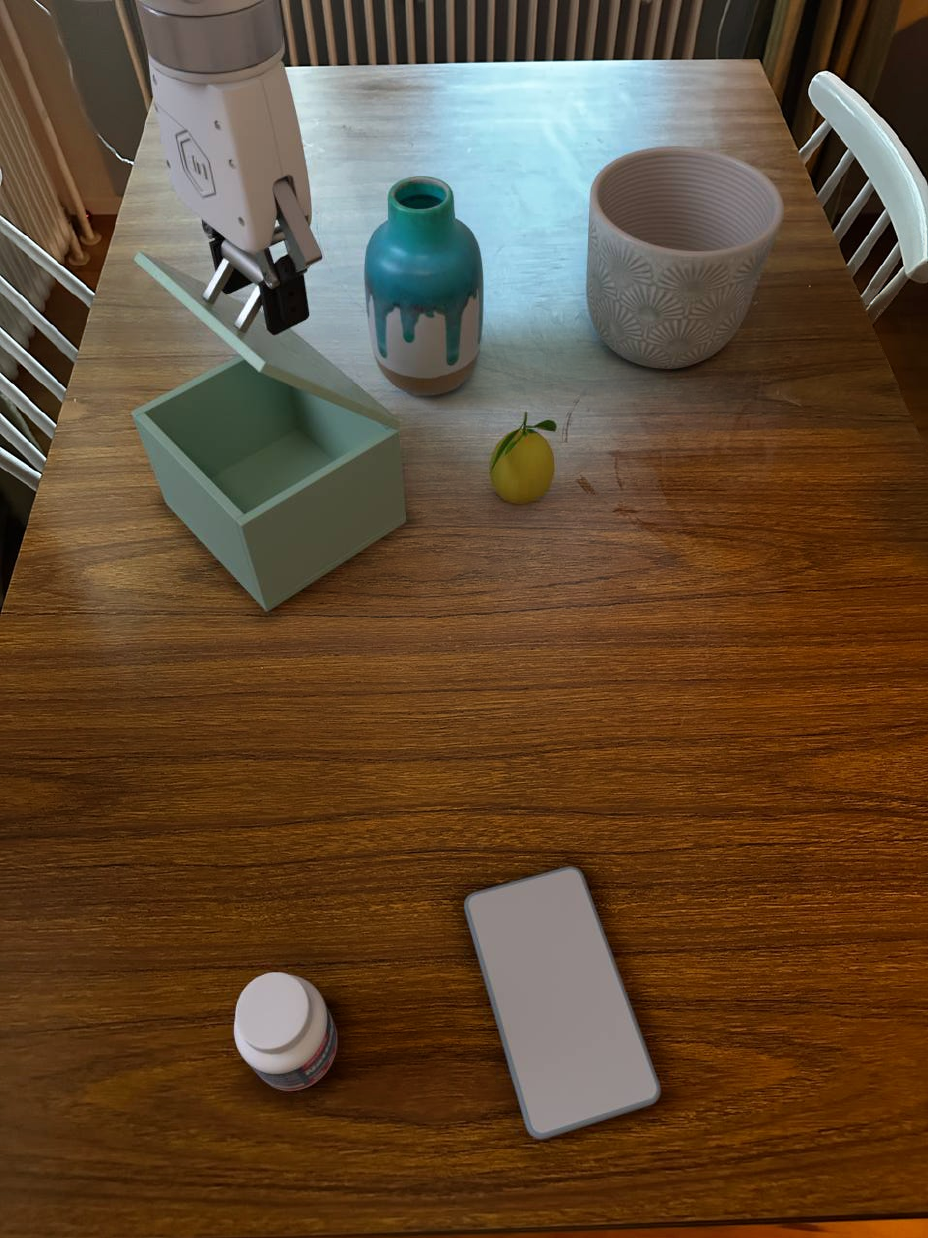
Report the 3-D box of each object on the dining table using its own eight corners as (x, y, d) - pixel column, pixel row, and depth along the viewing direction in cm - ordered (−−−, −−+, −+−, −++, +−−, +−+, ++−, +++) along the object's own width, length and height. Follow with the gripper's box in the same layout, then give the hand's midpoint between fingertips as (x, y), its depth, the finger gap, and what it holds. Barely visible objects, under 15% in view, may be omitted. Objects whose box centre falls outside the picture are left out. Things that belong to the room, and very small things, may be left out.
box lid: (259, 372, 60) (305, 295, 58) (133, 259, 67) (171, 187, 65) (396, 430, 73) (436, 368, 72) (279, 331, 80) (314, 272, 78)
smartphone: (579, 862, 64) (666, 1099, 56) (578, 867, 65) (663, 1102, 56) (460, 895, 63) (530, 1143, 54) (460, 900, 64) (529, 1145, 55)
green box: (266, 612, 77) (241, 525, 68) (165, 503, 84) (130, 411, 75) (406, 521, 82) (399, 430, 74) (301, 425, 89) (283, 331, 80)
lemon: (487, 529, 82) (490, 445, 74) (476, 479, 85) (477, 394, 77) (563, 519, 83) (574, 435, 74) (549, 470, 86) (558, 385, 78)
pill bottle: (325, 1100, 57) (305, 1073, 49) (241, 1083, 57) (209, 1054, 50) (347, 1007, 60) (331, 969, 52) (267, 992, 60) (240, 953, 53)
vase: (382, 421, 89) (365, 238, 74) (365, 348, 95) (346, 164, 79) (492, 405, 91) (499, 222, 75) (469, 334, 96) (470, 150, 81)
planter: (549, 303, 99) (561, 162, 87) (696, 272, 102) (729, 131, 90) (613, 410, 90) (637, 271, 78) (773, 373, 93) (821, 233, 81)
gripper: (74, -10, 54) (154, 270, 69) (241, 106, 47) (291, 391, 62) (188, -44, 57) (241, 231, 72) (362, 60, 50) (382, 342, 65)
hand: (264, 302), depth 67 cm, fingers closed on box lid, 5 cm apart
